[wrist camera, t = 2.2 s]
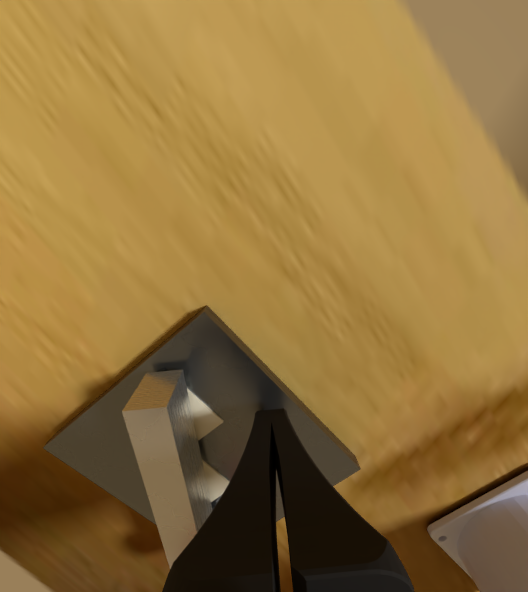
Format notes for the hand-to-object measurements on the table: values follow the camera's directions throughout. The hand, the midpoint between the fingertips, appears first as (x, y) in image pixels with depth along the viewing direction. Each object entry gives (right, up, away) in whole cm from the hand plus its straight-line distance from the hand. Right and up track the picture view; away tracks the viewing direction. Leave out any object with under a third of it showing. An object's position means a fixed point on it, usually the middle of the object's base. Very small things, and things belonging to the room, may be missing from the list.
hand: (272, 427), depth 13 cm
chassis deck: (-3, -2, +2) cm, 5 cm away
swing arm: (-4, -3, +2) cm, 5 cm away
